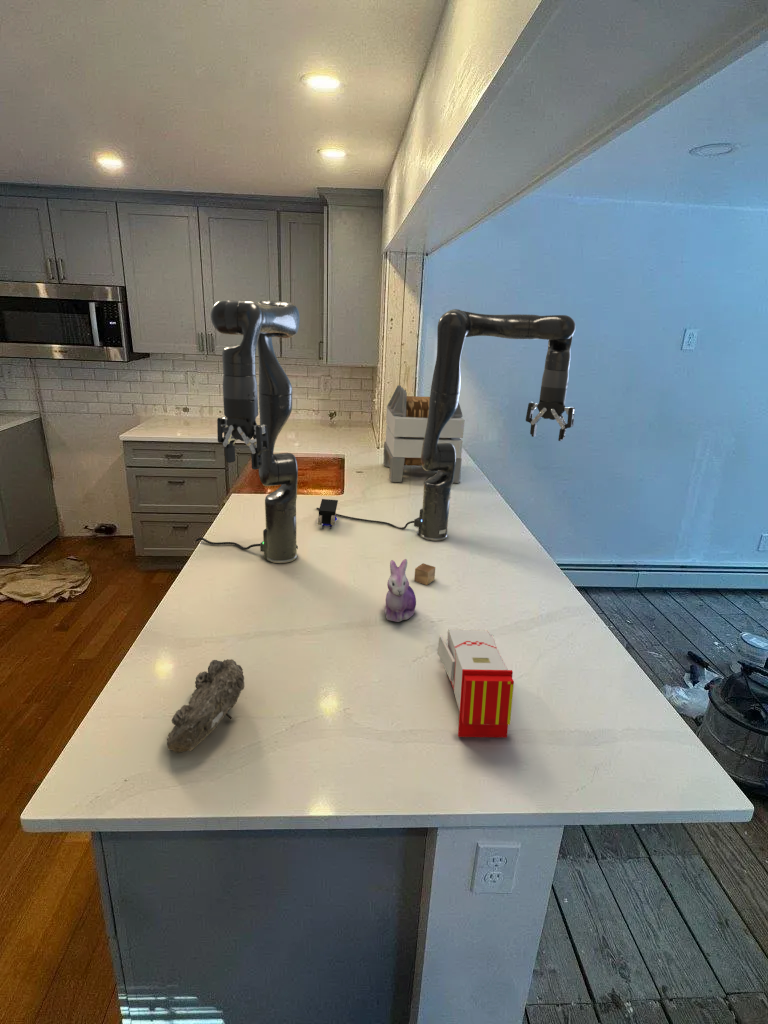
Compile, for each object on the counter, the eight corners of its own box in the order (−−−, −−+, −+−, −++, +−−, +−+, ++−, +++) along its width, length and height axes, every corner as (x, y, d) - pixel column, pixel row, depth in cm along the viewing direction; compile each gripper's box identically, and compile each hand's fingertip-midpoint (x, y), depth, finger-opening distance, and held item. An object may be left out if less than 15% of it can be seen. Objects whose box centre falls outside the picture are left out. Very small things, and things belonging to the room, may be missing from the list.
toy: (488, 613, 130) (523, 677, 101) (484, 667, 133) (517, 744, 104) (435, 612, 130) (455, 676, 101) (432, 666, 133) (451, 743, 103)
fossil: (192, 660, 117) (244, 628, 112) (224, 691, 120) (276, 661, 115) (142, 746, 98) (202, 712, 93) (182, 779, 101) (242, 748, 96)
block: (414, 581, 166) (415, 568, 164) (421, 575, 169) (422, 563, 168) (427, 585, 164) (428, 572, 162) (434, 579, 167) (435, 567, 166)
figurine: (392, 627, 141) (395, 572, 136) (374, 608, 149) (376, 556, 144) (425, 619, 145) (429, 566, 140) (405, 601, 154) (408, 550, 149)
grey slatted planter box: (382, 463, 289) (386, 382, 275) (445, 464, 293) (451, 384, 279) (390, 482, 257) (394, 392, 243) (460, 483, 261) (468, 394, 247)
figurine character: (335, 535, 199) (338, 516, 213) (336, 516, 196) (338, 497, 209) (316, 534, 199) (320, 515, 213) (316, 515, 196) (320, 497, 209)
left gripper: (205, 393, 128) (210, 463, 133) (250, 401, 120) (253, 474, 126) (231, 390, 133) (234, 457, 139) (275, 397, 126) (277, 467, 132)
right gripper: (527, 383, 171) (520, 436, 176) (574, 388, 163) (565, 444, 169) (535, 382, 177) (529, 433, 182) (581, 386, 169) (573, 440, 175)
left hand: (243, 465), depth 132 cm, fingers open, 8 cm apart
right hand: (546, 438), depth 175 cm, fingers open, 8 cm apart
